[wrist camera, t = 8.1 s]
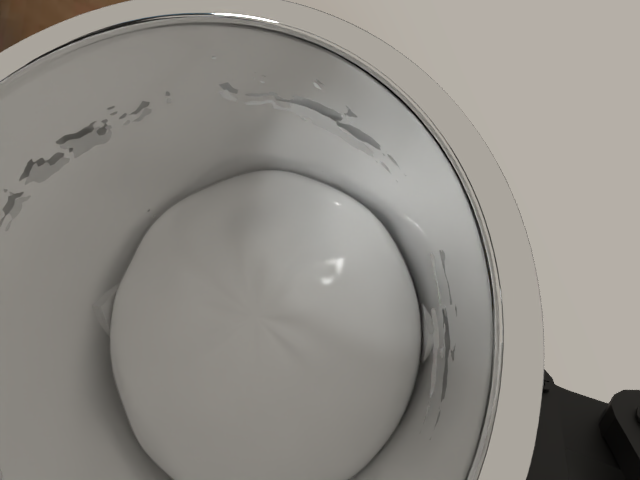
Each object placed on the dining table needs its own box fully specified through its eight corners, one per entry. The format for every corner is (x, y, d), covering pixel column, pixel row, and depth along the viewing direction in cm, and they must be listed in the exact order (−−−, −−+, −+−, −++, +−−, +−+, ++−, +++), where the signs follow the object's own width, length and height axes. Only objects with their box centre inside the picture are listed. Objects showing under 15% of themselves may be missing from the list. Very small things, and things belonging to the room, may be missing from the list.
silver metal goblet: (363, 249, 18) (415, -91, 4) (401, 390, 16) (808, 765, 2) (234, 280, 18) (-180, 57, 4) (256, 424, 16) (-433, 1033, 2)
